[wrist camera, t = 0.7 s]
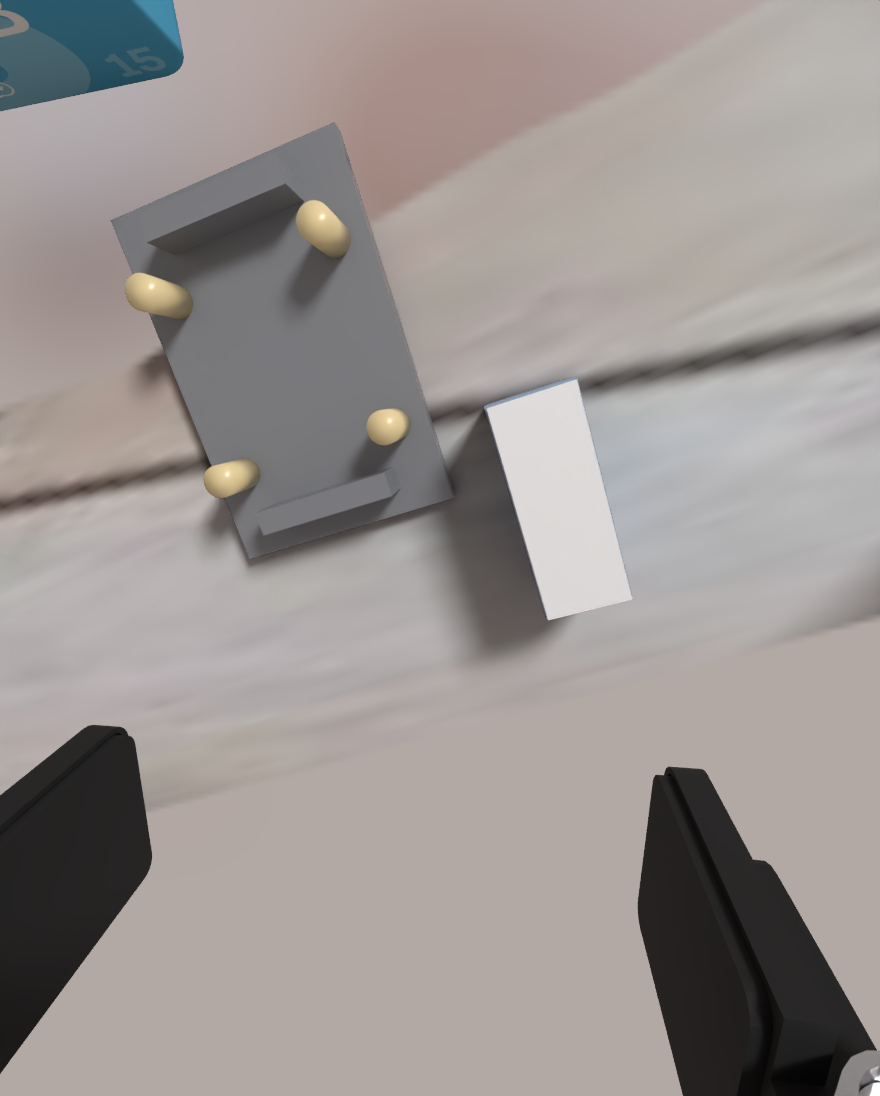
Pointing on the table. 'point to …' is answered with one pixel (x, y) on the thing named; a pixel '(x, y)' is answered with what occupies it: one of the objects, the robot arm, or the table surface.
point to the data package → (83, 47)
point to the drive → (559, 498)
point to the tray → (287, 345)
